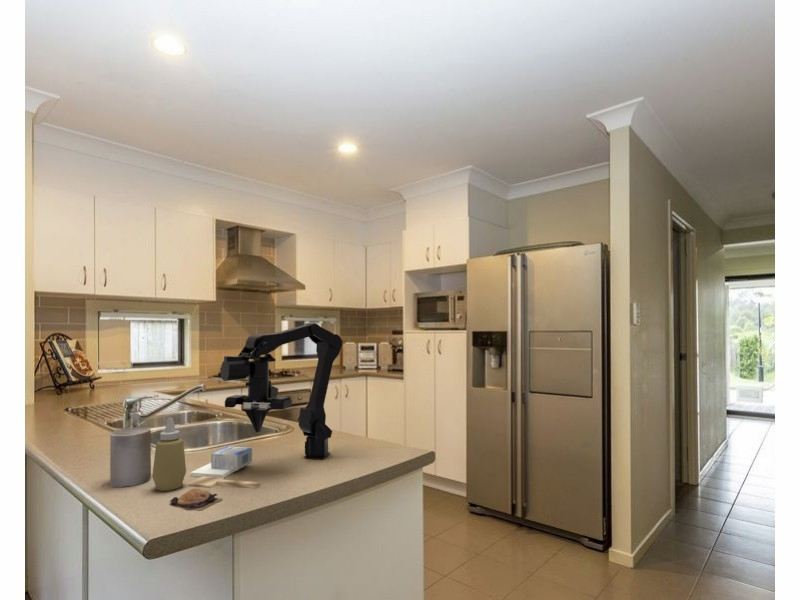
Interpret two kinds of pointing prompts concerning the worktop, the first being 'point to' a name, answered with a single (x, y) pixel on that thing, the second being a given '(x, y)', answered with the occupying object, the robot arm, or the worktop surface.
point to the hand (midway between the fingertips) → (257, 432)
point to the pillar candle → (130, 456)
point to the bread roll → (195, 500)
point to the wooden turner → (221, 483)
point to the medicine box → (231, 458)
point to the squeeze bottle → (169, 459)
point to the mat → (211, 472)
